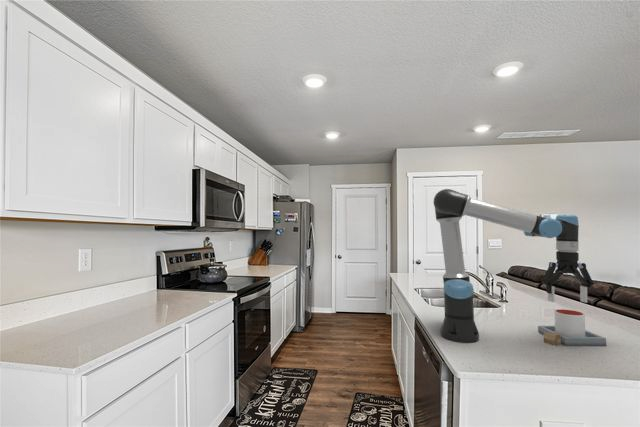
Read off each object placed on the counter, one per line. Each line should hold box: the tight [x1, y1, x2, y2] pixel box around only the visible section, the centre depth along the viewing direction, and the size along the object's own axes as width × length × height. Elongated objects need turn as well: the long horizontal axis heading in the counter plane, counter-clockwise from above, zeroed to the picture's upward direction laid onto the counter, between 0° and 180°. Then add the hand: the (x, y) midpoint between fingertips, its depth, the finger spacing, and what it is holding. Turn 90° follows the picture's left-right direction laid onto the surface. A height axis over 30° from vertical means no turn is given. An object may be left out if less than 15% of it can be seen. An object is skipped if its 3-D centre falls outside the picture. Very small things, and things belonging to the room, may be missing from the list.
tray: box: [537, 325, 607, 347], centre depth 134 cm, size 16×16×3 cm
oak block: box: [543, 331, 562, 346], centre depth 129 cm, size 4×4×4 cm
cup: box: [554, 308, 586, 337], centre depth 134 cm, size 10×10×10 cm
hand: (567, 301), depth 135 cm, fingers open, 13 cm apart
